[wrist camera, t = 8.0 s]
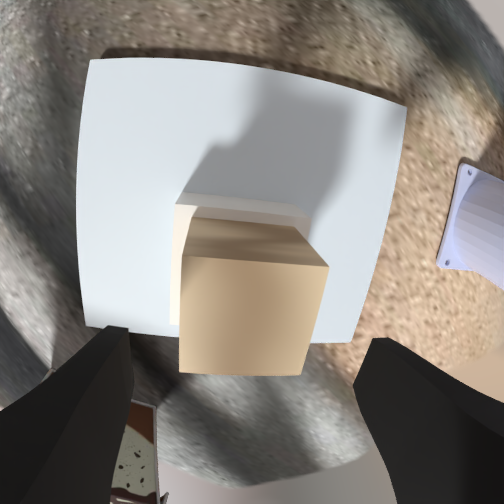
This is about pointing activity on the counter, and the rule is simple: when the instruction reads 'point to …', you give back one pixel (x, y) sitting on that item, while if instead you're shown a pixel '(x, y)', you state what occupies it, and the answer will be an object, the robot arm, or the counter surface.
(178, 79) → the white flat panel
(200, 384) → the counter surface
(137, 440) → the food container
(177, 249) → the base block
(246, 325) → the maple block
